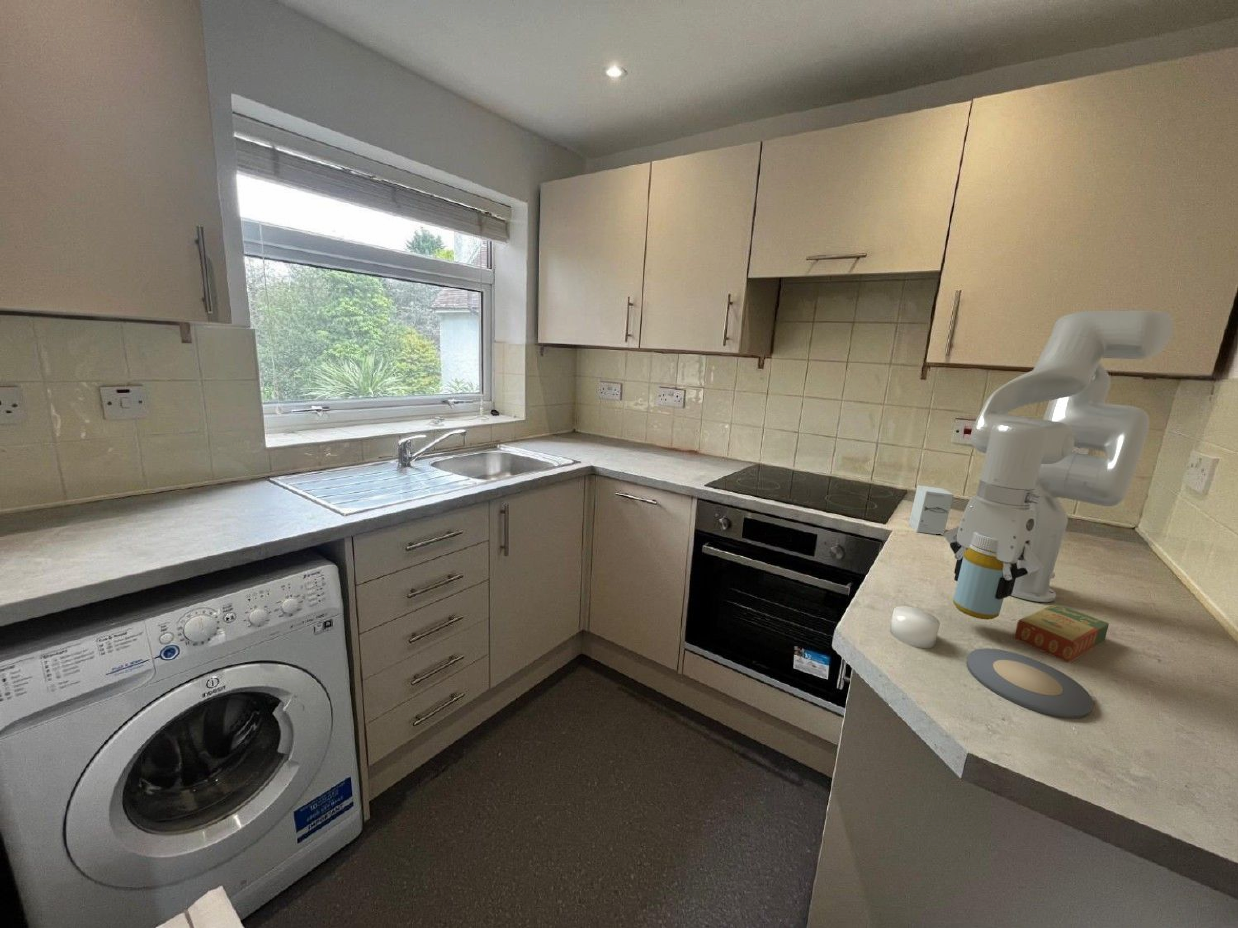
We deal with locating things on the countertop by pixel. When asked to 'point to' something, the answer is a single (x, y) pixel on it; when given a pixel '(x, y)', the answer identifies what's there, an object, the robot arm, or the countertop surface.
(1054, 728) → the countertop surface
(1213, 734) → the countertop surface
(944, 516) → the supplement box
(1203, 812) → the countertop surface
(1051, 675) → the disc
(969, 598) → the bottle
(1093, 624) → the carton
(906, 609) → the white smooth round part
